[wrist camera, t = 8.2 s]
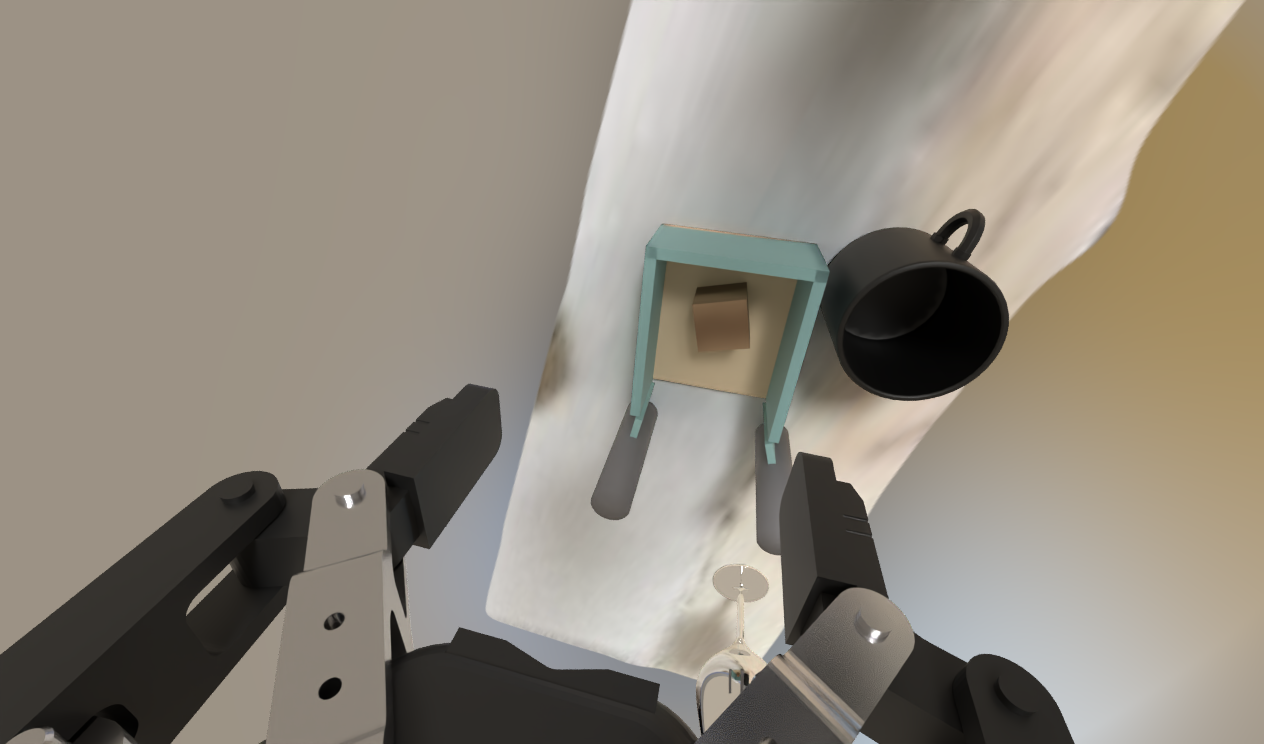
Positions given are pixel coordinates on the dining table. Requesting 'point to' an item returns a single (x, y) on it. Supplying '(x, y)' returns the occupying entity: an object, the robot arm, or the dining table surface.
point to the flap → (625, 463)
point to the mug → (914, 311)
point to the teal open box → (778, 314)
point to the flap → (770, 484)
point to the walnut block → (722, 317)
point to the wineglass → (730, 647)
